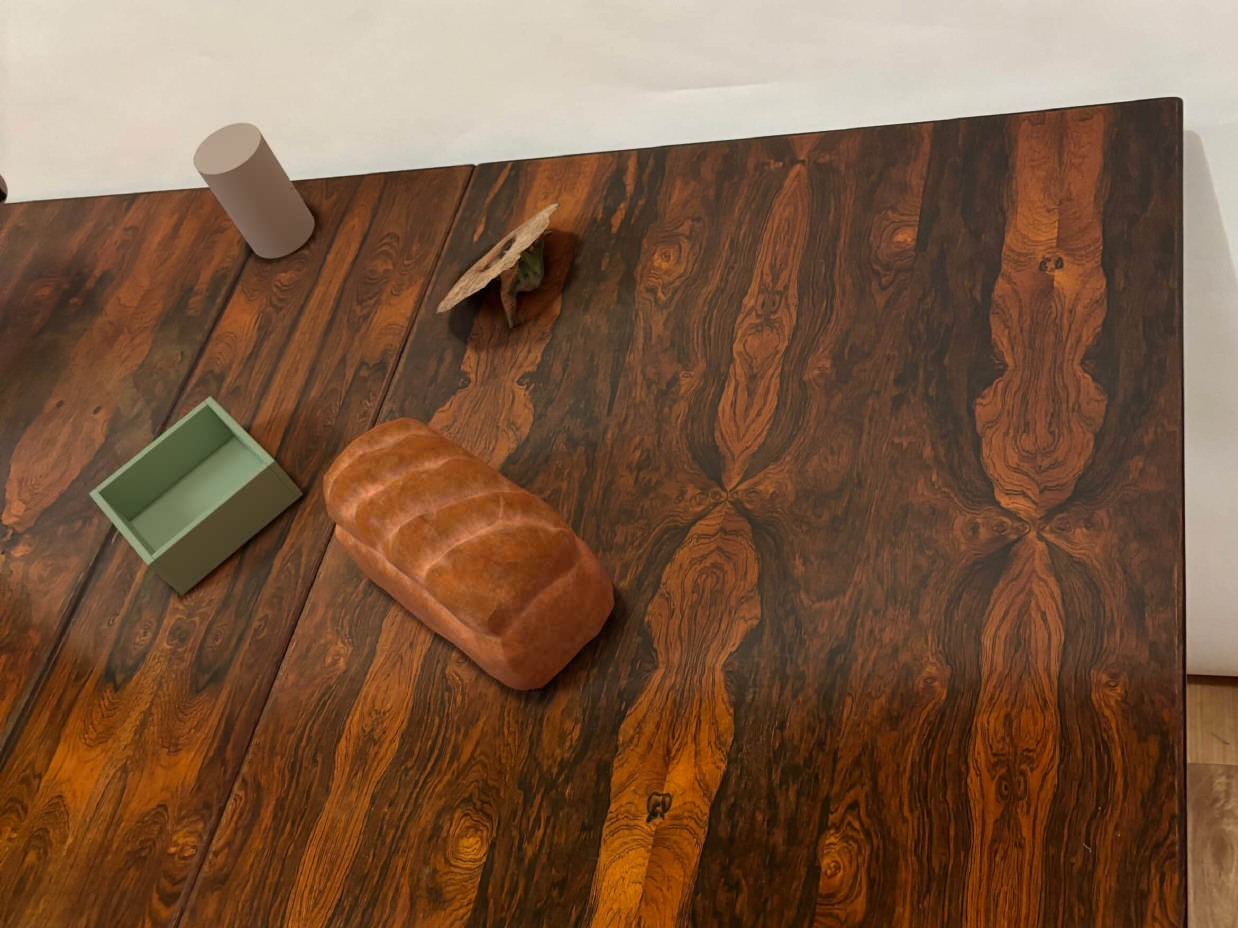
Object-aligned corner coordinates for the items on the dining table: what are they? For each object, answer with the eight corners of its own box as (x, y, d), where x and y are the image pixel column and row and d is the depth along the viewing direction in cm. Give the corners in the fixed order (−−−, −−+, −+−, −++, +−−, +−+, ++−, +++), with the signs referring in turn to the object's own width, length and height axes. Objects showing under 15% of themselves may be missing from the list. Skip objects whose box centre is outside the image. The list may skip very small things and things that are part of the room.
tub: (182, 595, 116) (147, 565, 111) (123, 525, 123) (88, 493, 118) (303, 494, 119) (274, 460, 114) (239, 430, 125) (209, 395, 120)
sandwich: (493, 298, 135) (459, 236, 131) (600, 256, 129) (568, 189, 125) (439, 372, 122) (399, 306, 118) (555, 329, 116) (517, 258, 112)
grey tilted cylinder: (326, 213, 139) (274, 126, 129) (291, 262, 136) (234, 178, 126) (275, 204, 142) (219, 119, 132) (239, 253, 140) (180, 169, 129)
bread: (529, 713, 101) (460, 625, 87) (349, 567, 113) (264, 469, 100) (636, 599, 104) (586, 496, 90) (449, 468, 116) (380, 361, 102)
